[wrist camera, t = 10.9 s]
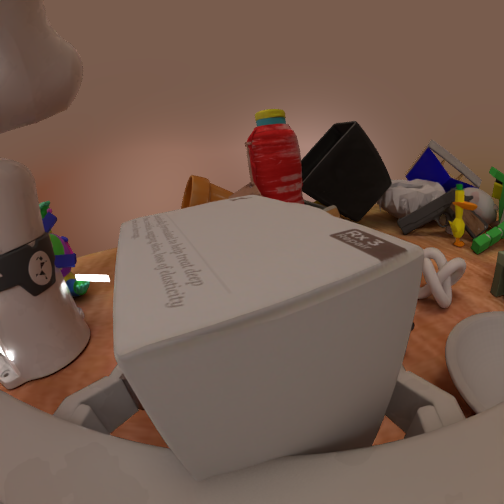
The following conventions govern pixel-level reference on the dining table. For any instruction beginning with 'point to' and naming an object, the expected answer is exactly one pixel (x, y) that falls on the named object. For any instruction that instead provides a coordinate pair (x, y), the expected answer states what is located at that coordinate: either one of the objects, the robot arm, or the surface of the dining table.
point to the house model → (440, 169)
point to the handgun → (438, 208)
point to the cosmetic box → (261, 328)
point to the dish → (478, 359)
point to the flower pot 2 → (345, 171)
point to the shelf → (498, 276)
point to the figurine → (62, 253)
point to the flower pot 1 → (202, 192)
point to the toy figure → (460, 214)
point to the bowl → (409, 196)
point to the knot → (440, 276)
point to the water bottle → (273, 160)
